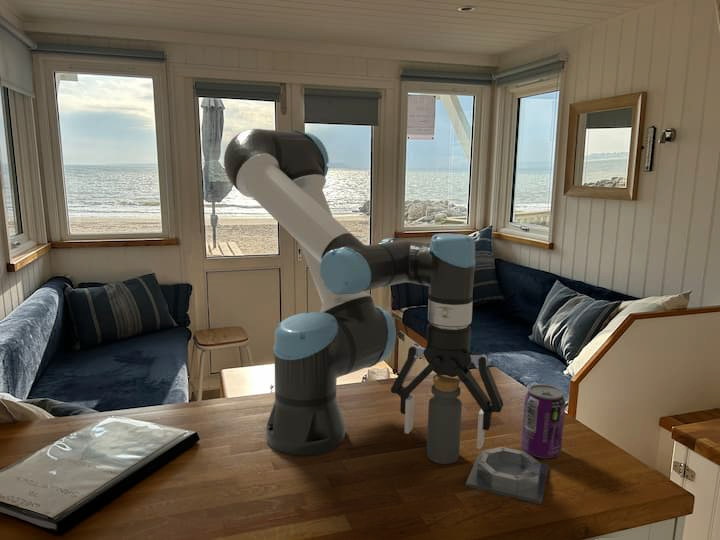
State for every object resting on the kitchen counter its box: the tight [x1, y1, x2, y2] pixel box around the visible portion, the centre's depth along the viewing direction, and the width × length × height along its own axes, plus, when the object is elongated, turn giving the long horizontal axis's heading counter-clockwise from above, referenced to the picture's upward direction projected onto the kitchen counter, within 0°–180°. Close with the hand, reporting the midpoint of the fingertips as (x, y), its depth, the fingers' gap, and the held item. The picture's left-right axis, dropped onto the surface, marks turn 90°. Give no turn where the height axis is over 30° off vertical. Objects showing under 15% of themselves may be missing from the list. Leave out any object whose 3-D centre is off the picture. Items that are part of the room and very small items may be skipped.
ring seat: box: [465, 446, 550, 505], centre depth 96 cm, size 12×12×3 cm
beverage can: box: [520, 383, 566, 459], centre depth 103 cm, size 7×7×12 cm
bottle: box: [426, 374, 463, 465], centre depth 101 cm, size 6×6×15 cm
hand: (443, 437), depth 101 cm, fingers open, 12 cm apart
